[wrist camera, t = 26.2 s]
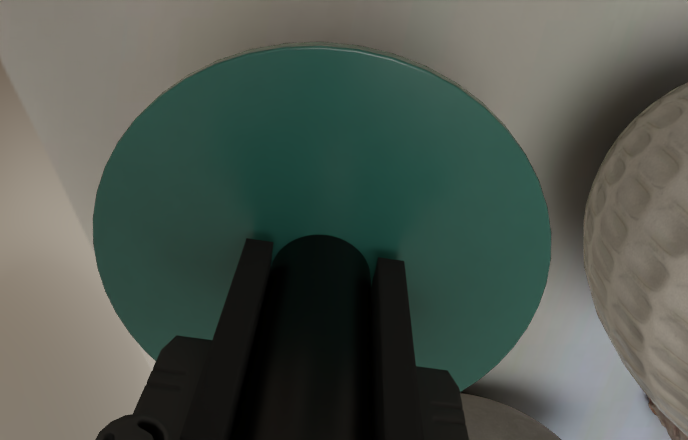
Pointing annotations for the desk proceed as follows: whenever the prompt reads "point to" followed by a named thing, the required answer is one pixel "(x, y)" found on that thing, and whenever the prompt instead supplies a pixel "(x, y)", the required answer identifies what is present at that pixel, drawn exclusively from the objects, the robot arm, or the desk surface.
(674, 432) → the stone
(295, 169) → the lid
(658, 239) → the vase
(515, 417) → the planter
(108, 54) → the desk surface
